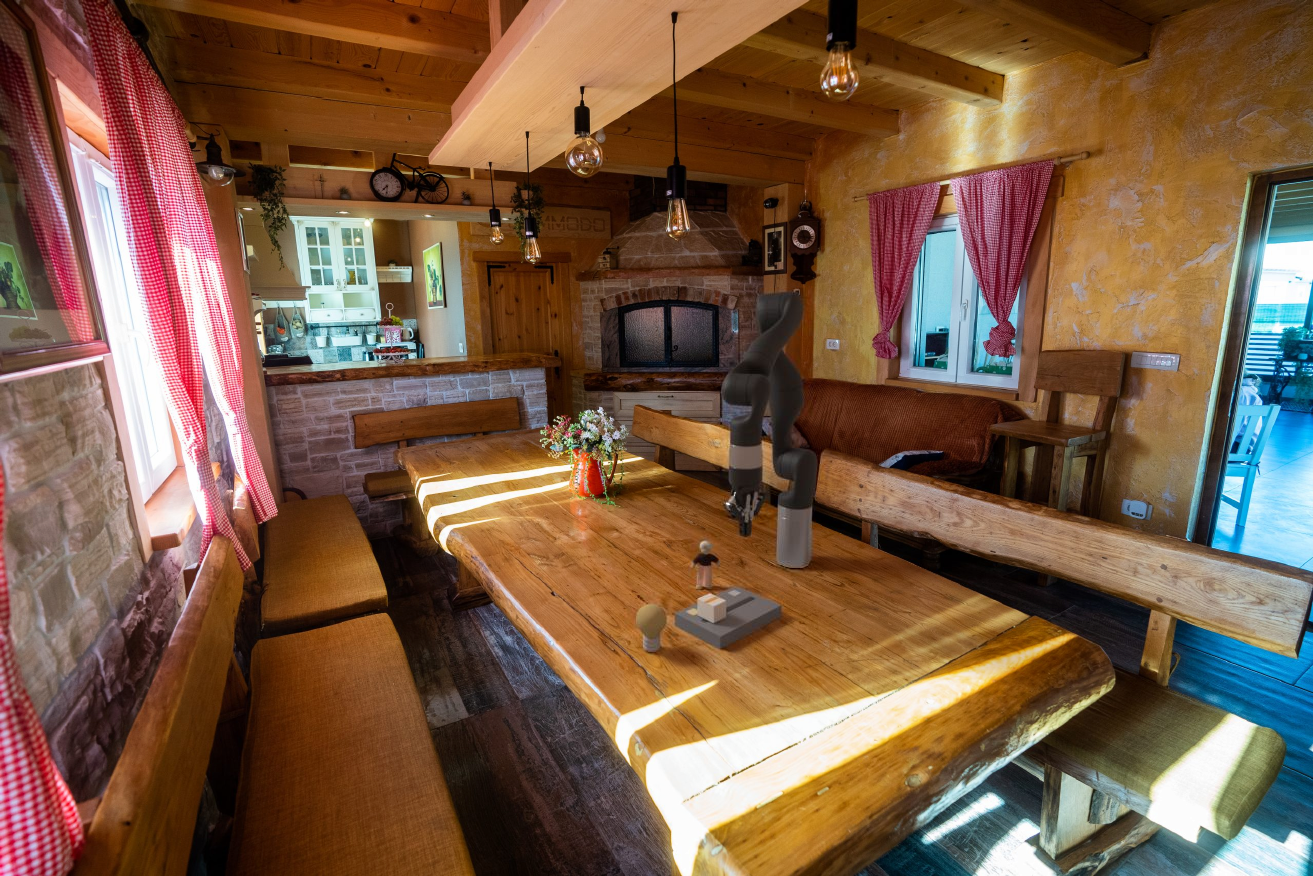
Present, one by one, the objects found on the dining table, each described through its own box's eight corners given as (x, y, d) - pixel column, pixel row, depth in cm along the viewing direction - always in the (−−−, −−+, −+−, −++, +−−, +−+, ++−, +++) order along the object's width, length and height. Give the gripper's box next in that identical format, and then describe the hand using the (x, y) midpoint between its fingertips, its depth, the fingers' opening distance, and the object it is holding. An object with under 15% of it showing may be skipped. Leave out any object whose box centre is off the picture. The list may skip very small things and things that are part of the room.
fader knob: (709, 609, 144) (709, 592, 143) (726, 617, 140) (726, 600, 139) (697, 615, 141) (697, 598, 140) (713, 623, 138) (713, 606, 137)
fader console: (736, 596, 157) (736, 585, 156) (781, 616, 147) (781, 604, 146) (674, 625, 144) (674, 612, 143) (720, 649, 133) (720, 636, 133)
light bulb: (649, 638, 138) (649, 596, 136) (672, 647, 134) (672, 604, 132) (630, 650, 133) (629, 606, 131) (653, 660, 129) (653, 616, 127)
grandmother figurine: (694, 592, 160) (694, 545, 157) (689, 585, 164) (689, 539, 161) (722, 588, 162) (723, 541, 159) (717, 582, 166) (717, 536, 163)
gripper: (751, 454, 147) (751, 524, 151) (713, 465, 139) (713, 539, 143) (777, 460, 142) (776, 532, 146) (739, 472, 133) (738, 548, 137)
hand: (745, 535), depth 144 cm, fingers closed
